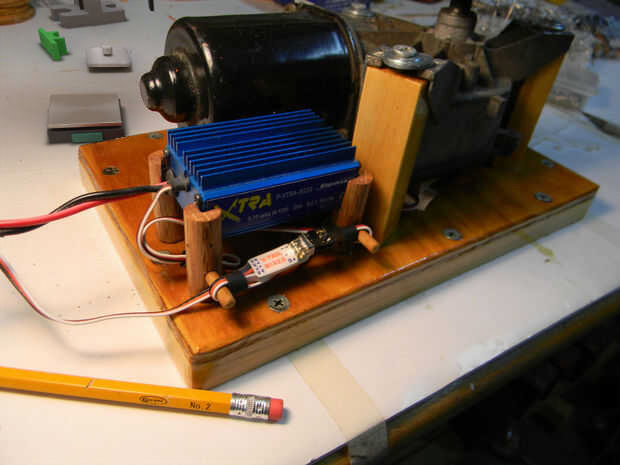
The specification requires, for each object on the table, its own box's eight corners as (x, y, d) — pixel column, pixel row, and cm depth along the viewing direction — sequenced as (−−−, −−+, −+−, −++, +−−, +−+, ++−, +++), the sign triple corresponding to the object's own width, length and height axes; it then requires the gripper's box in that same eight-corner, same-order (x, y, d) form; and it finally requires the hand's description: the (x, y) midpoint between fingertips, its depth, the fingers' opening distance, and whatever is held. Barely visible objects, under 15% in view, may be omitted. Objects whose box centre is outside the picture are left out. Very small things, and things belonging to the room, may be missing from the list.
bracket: (51, 19, 134) (42, -23, 127) (111, 12, 145) (106, -27, 138) (66, 30, 130) (58, -13, 123) (127, 22, 140) (123, -17, 133)
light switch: (132, 74, 114) (130, 53, 111) (88, 75, 111) (85, 53, 108) (128, 58, 121) (126, 38, 118) (86, 58, 117) (83, 38, 114)
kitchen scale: (50, 147, 87) (46, 130, 84) (53, 112, 96) (49, 97, 94) (125, 143, 91) (123, 127, 89) (121, 110, 100) (119, 95, 98)
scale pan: (48, 128, 85) (47, 124, 85) (51, 97, 94) (50, 94, 93) (121, 125, 89) (121, 122, 89) (118, 96, 98) (117, 93, 97)
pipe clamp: (72, 61, 116) (68, 42, 113) (56, 63, 114) (52, 44, 111) (57, 44, 122) (53, 26, 119) (41, 46, 120) (37, 27, 117)
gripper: (22, -124, 77) (50, 13, 91) (177, -106, 87) (181, 15, 100) (23, -129, 82) (50, 1, 96) (170, -112, 92) (175, 4, 105)
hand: (117, 8), depth 98 cm, fingers open, 13 cm apart
